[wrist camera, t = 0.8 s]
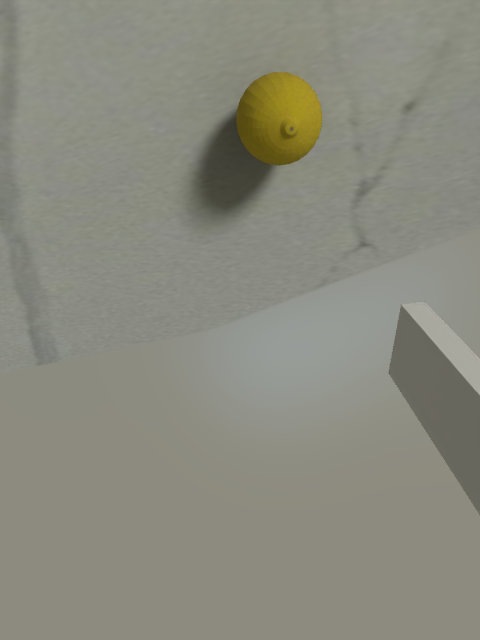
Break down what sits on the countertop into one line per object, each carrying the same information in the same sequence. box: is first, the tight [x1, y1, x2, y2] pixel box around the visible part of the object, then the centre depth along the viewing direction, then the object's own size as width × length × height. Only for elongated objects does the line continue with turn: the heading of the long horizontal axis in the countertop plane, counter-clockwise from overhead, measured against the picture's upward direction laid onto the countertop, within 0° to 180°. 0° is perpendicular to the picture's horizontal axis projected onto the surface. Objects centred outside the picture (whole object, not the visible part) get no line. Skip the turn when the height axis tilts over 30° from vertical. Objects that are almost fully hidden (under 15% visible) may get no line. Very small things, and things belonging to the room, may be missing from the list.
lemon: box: [236, 72, 322, 165], centre depth 28 cm, size 6×6×8 cm
